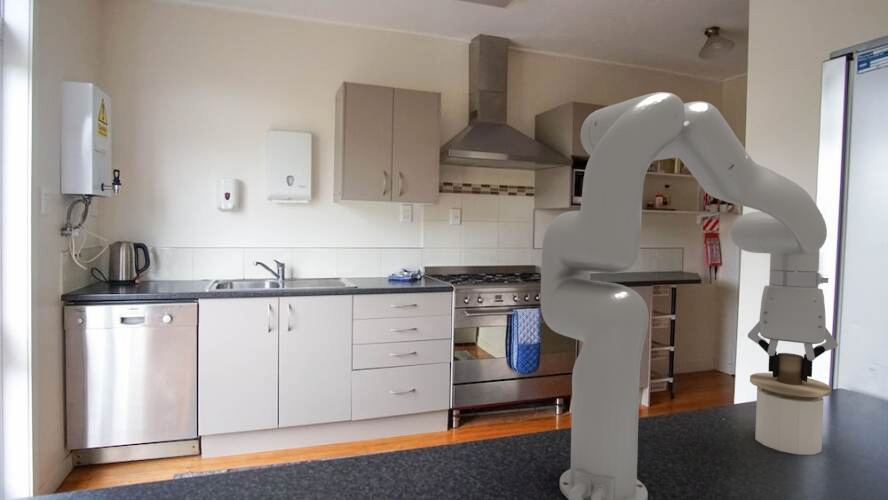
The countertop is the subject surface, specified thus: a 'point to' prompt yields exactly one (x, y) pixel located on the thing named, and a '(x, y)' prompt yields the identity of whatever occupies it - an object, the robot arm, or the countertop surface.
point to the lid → (790, 379)
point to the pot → (789, 422)
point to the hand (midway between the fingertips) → (789, 377)
